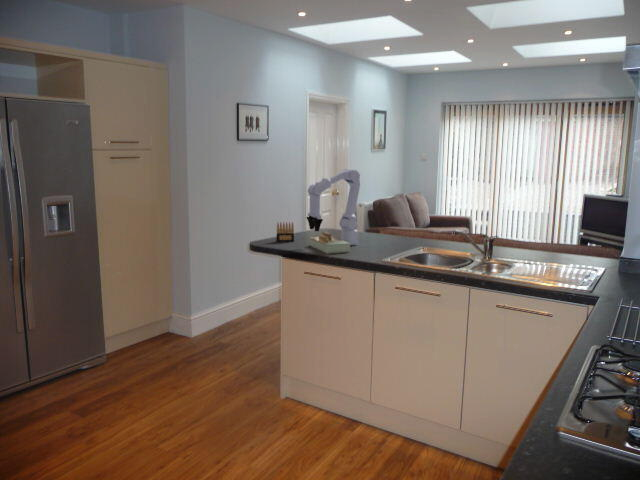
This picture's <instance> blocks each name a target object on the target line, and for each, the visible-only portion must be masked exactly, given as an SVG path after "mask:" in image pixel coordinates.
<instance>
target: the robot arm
mask: <svg viewBox="0 0 640 480" xmlns="http://www.w3.org/2000/svg"><path fill="white" fill-rule="evenodd" d="M360 177H361V174H360V172H359V171H358V170H357V169H347V168H345V169H342V170H341V171H339V172H338V173H336V174H335V175H333V176H331V177H330V178H322V179H321V180H320V181H318V182H315V183H314V184H311V185H309V187H308V189H307V193H308V194H309V196H308V197H309V212H308V213H307V216H306V219H307V222H308V226H309V229H310V230H314V232H320V229H321V226H322V225H321V224H322V223H323V220H324V219H322V215H321V213H320V212H321V210H320V209H321V195H322V194H323V192H324V191H326V190H328V189H330V188H331V187H332V185H333V184H335V183H337V182H339V181H342V180H344V181H345V182H347V184H348V185H349V191H348V196H347V203H346V207H345V212H344V213H343V214H342V215H341V218H340V220H339V227H340V228H341V240H343V241H346V242H348V243H350V246H359V231H358V229H356V228H357V225H358V224H357V223H358V222H357V219H358V217H357V216H356V215H355V214H356V208H357V202H358V200H359V195H360V194H359V193H360V189H361V188H360V187H361V180H360Z"/></svg>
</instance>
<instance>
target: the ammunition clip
mask: <svg viewBox="0 0 640 480" xmlns="http://www.w3.org/2000/svg"><path fill="white" fill-rule="evenodd" d="M294 231H295V228H294V222H293V221H292V222H290V221H289V223H288V222H287V221H286V222H284V221H283V223H282V222H280V223H279V222H277V223H276V237H275V238H276V239H275V242H276V243H288V242H289V243H291V242H293V241H294V242H295V232H294Z"/></svg>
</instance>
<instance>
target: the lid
mask: <svg viewBox="0 0 640 480" xmlns="http://www.w3.org/2000/svg"><path fill="white" fill-rule="evenodd" d="M322 235H324V236H327V237H328V242H337V241H343V240H342V238H338V237H335V236H333V233H330V232H327V231H322V232H321V236H322ZM310 239H311V240H313V241H316V242H318V243H320V244H322V242H320V241H319V236H311V237H309V240H310Z"/></svg>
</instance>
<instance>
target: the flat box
mask: <svg viewBox="0 0 640 480" xmlns="http://www.w3.org/2000/svg"><path fill="white" fill-rule="evenodd" d="M309 247H311V248H313V249H316V250H318V251H320V252H322V253H325V254H327V255H328V254H343V253H345V254H346V253H350V252H351V245H350V243H348V242H346V241H337V242H328V243H322V244H320V243H318V242H316V241H313V240H311V239H310V238H309Z"/></svg>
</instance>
